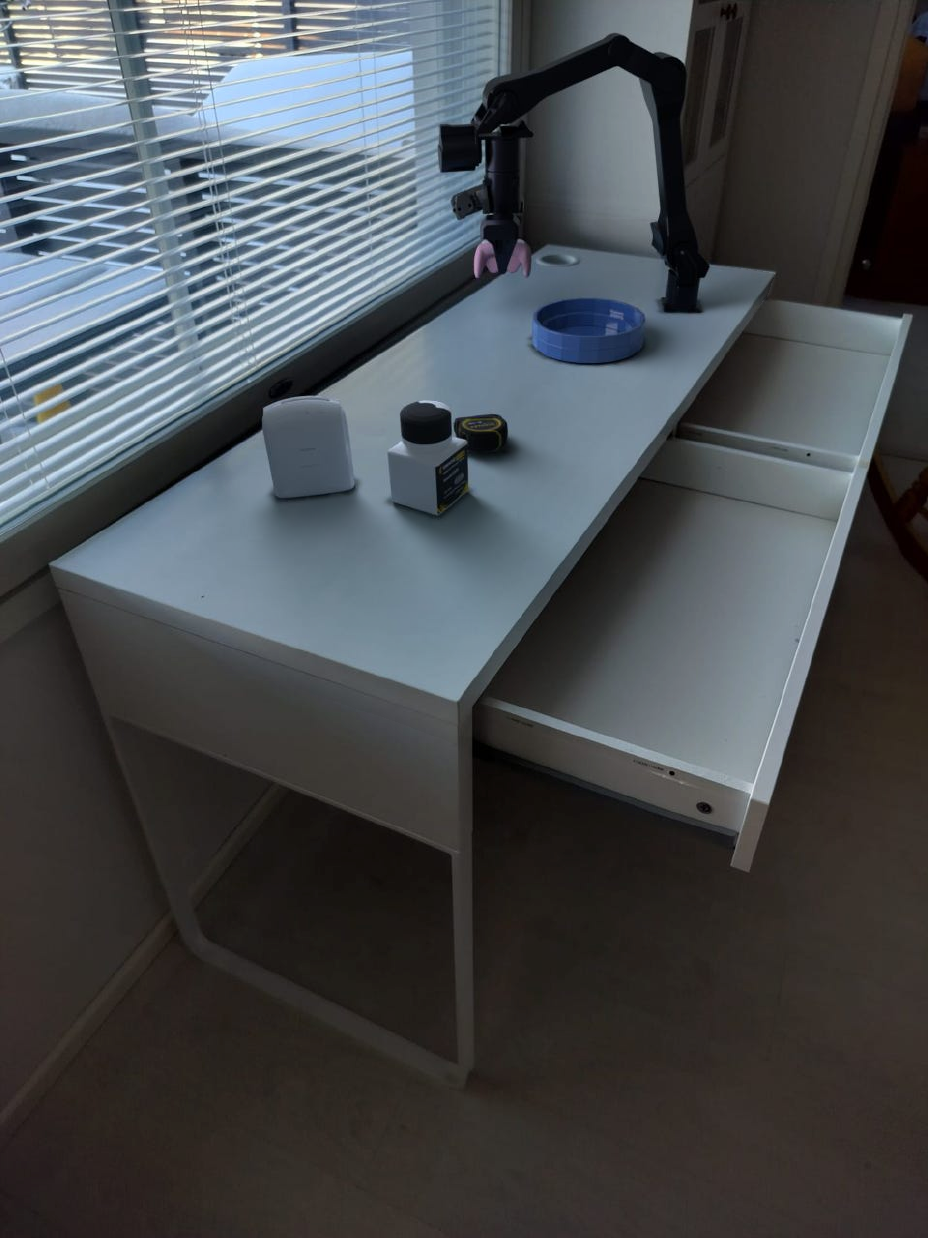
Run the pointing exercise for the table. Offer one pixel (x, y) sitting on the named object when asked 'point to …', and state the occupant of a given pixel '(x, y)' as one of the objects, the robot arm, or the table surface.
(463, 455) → the medicine bottle
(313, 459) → the photo printer
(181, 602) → the table surface
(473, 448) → the tape measure
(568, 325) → the bowl
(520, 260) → the video game controller
